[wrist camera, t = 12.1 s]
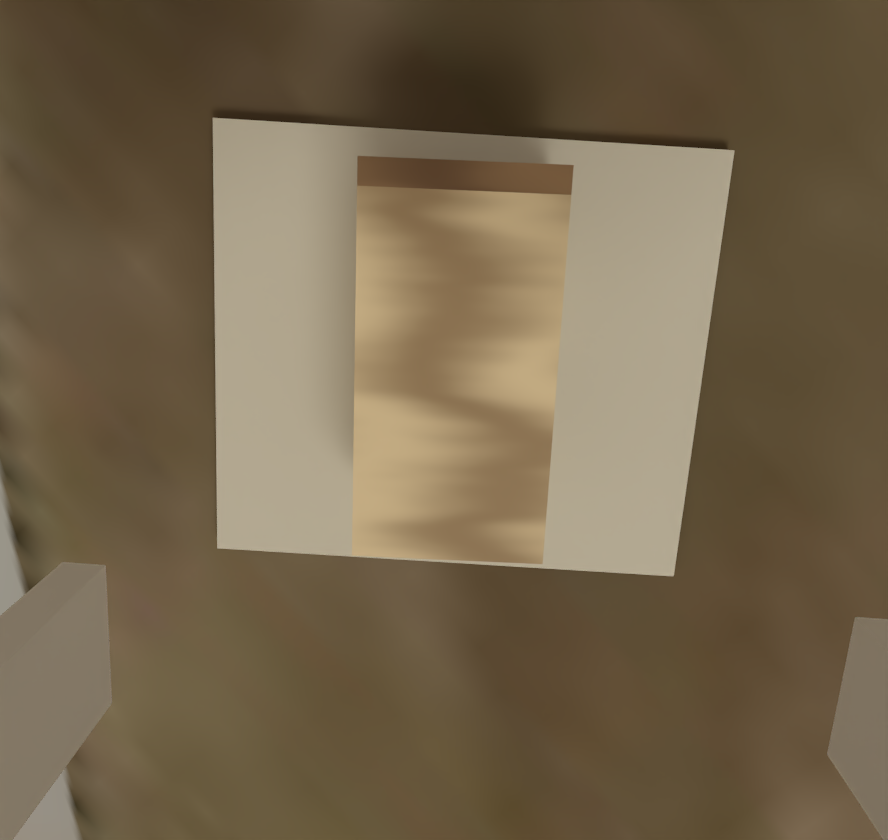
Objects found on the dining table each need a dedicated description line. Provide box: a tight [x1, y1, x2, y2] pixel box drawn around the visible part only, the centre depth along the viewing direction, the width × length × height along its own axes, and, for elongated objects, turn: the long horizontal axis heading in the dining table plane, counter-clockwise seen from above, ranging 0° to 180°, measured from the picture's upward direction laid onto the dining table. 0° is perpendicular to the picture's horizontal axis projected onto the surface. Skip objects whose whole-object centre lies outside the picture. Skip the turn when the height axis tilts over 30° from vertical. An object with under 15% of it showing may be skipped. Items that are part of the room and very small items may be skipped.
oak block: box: [352, 156, 574, 564], centre depth 27 cm, size 6×6×12 cm
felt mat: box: [213, 118, 734, 576], centre depth 31 cm, size 18×16×1 cm
